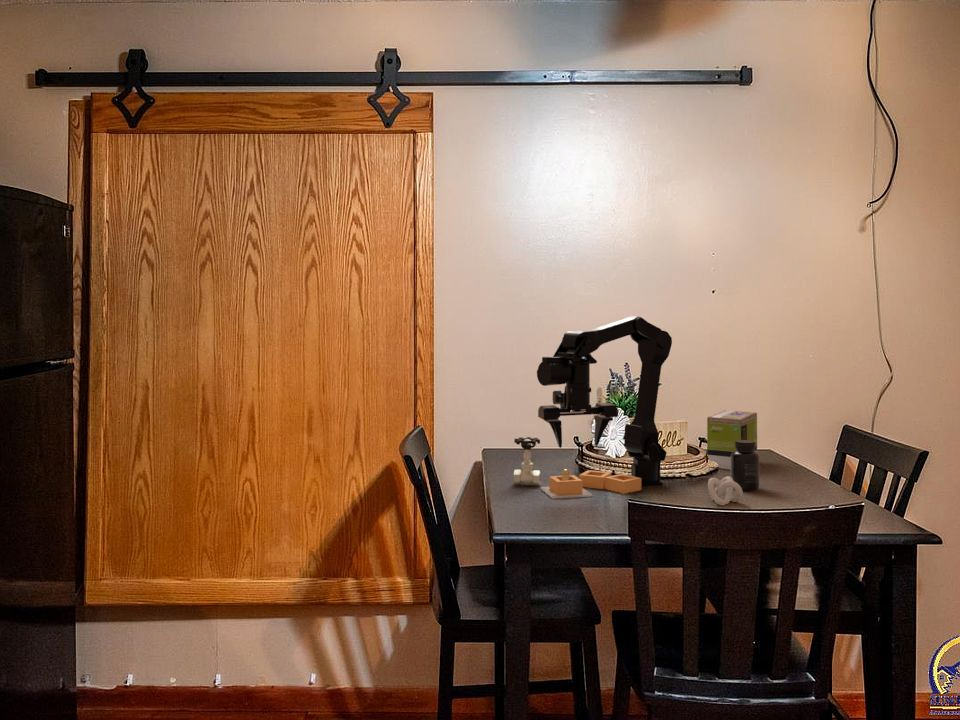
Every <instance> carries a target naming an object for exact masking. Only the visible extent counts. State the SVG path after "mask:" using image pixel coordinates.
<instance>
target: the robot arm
mask: <svg viewBox="0 0 960 720" xmlns="http://www.w3.org/2000/svg"><path fill="white" fill-rule="evenodd" d="M626 336H630V339H631V340H632V341H634V342H635V343H636V344H637V354H638V356H639V358H640V359H639V360H640V362H641V367H640V368H641V369H640V375H639V376H640V377H639V383H638V391H637V397H636V405H635V406H636V407H635V414H634V419H632V421H631V422H630V423H626V424H625V425H624V434H623V437H622V440H623V441H624V442H623V443H624V447H625V448H626V450H627V454H628V457H629V458H632V460H633V461H632V462H633V463H632V464H631V467H630V469H631V472H630V473H631V474H630V476H634V477H638V478H641V486H644V485H645V486H649V485H661V484H664V481H663V480H661V462H662V461H665V460H666V457H667V451H666V450H665V449H664V447H662V445H661V444H660V442H659V430H658V429H657V425H656V423H655V417H656V409H657V408H656V407H657V403H658V401H657V400H658V394H659V393H658V392H659V388H660V379H661V370H662V366H663V365H664V363H665V362H666V360H667V359H668V358H669V355H670V352H671V348H672V344H673V339H672V336H670V333H669V332H667V330H663V329H661V328H660V327H657V326H656V325H654V324H652V323H650V322H648V321H647V320H646V319H644V318H643V317H641V316H627V317H625V318H623V319H620V320H617V321H613V322H611V323H608V324H604V325H601V326H597V327H595V328H592V329H577V330H575V329H574V330H570V331H566V332H564V334H563V337H562V338H561V342H560V343H559V346H558V347H557V349H556V350H555V353H554V354H553V356H542V358H541V362H540V363H539V364H538V368H537V370H536V378H537V380H538V382H539V384H540V385H542V386H543V387H544V386H545V387H547V386H556V385H557V386H558V385H565V386H564V392H562V390H553V391H552V403H553V404H552V405H550V404H549V405H540V406H539V407H538V410H537V417H538V418H540V419H542V420H543V421H545V422H547V423H548V424H549V425H550V427H551V429H552V431H553V434H554V437H555V441H556V442H557V445H558V448H559V449H560V448H562V445H563V431H562V430H563V429H562V420H560V419H559V418H560V417H563V416H564V417H566V416H567V417H568V416H587V415H594V417H593V418H594V422H595V423H594V424H595V425H594V446H596V447H598V445H599V443H600V440H601V439H602V436H603V434H604V433H605V430H606V428H607V426H608V425H609V423H610V422H611V421H612V422H613V421H614V419H613V418H618V417H619V409H618V406H617V405H616V404H613V403H610V402H602V403H601V402H599V403H598V402H597V403H596V404H595V406H592V404H591V402H590V401H591V395H590V394H591V393H592V387H591V385H590V384H591V383H590V380H591V379H590V378H591V377H590V376H591V373H590V372H591V370H590V367H591V365H592V364H597V363H598V360H596V358H594V357H593V356H592V353H594V352H595V351H597V350H598V349H599V348H600V347H601V346H602V345H605V344H607V343H609V342H612V341H613V342H614V341H615V340H618V339H619V340H620V339H621V338H624V337H626ZM556 405H559V406H556Z"/></svg>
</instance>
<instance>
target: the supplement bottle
mask: <svg viewBox="0 0 960 720" xmlns="http://www.w3.org/2000/svg"><path fill="white" fill-rule="evenodd" d="M735 449H736V450H735V451H734V452H732V454H731V470H730V477H731V478H732V479H733V481H734V482H736V483H737V484H739V485H740V487H741V488H742V491H743V492H755V491H758V490H759V488H760V454H759V453H758V451H757V452H755V451H754V449H755V441H751V440H736V441H735ZM733 490H735V489H734V488H733Z"/></svg>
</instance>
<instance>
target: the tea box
mask: <svg viewBox="0 0 960 720" xmlns="http://www.w3.org/2000/svg"><path fill="white" fill-rule="evenodd" d="M706 419H707V420H706V421H707V422H706V439H707V441H706V442H707V443H706V445H707V446H706V453H707V454H706V455H707V456H708V458H709V460H711V461H714V462H716V463H717V464H718V465H719V468H721V470H730V471H731V454H732V452H734V451H735V450H736V449H735V441H736V440H751V441H755V449H754V451H755V452H757V453H758V413H757V412H756V411H755V412H752V411H751V412H750V411H739V410H722V411H720V412H718V413H714V414H712V415H710V416H707V418H706ZM707 456H706V457H707ZM719 468H718V469H719Z"/></svg>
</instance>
